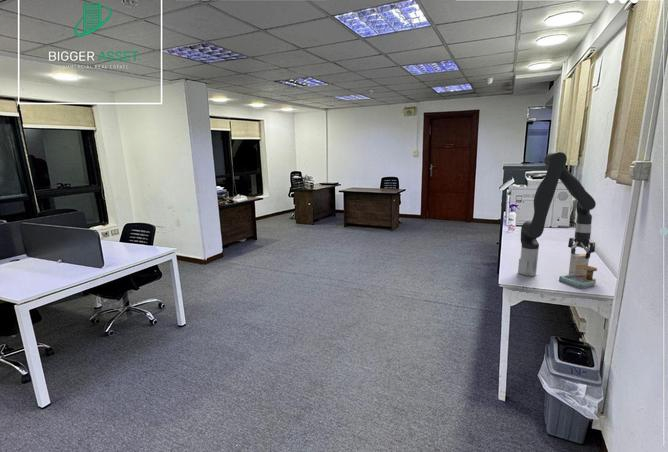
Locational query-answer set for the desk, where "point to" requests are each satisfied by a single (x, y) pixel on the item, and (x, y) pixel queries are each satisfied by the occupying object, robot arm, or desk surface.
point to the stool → (589, 273)
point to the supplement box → (578, 264)
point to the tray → (576, 281)
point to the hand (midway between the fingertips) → (580, 256)
